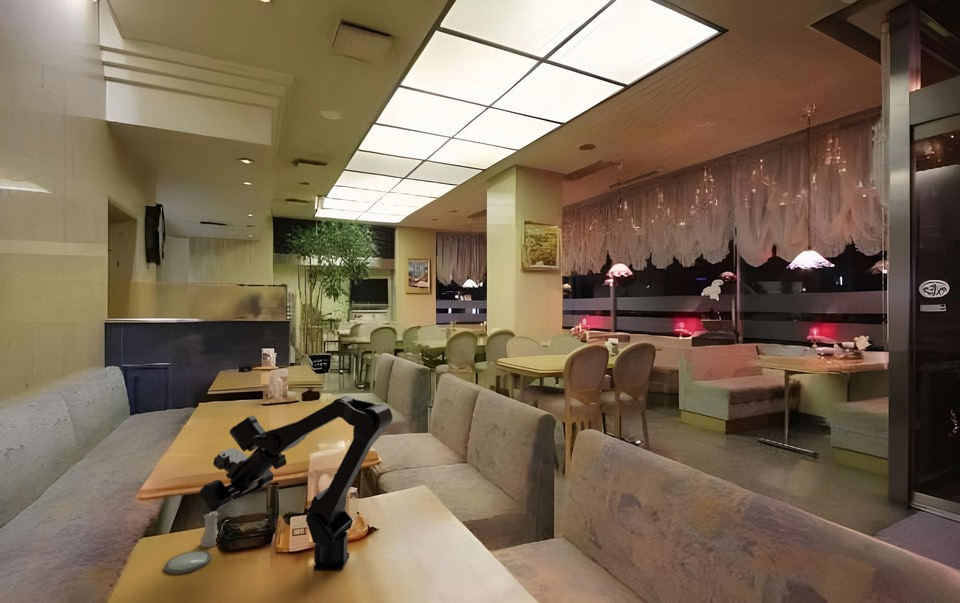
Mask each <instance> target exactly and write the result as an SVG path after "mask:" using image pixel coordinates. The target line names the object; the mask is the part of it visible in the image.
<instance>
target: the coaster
mask: <svg viewBox="0 0 960 603" xmlns="http://www.w3.org/2000/svg"><path fill="white" fill-rule="evenodd" d="M211 558H212V555H211V553H210V552H209V551H207V550H193V551H189V552H185V553H181V554H178V555H176V556H173V557H172V558H171V559H169V560H168V561H167V562H166V563H165V564H164V572H165V573H166V574H168V575H172V576H173V575H174V576H175V575H185V574H189V573H192V572H195V571H198V570H200V569H202V568H203V567H205V566H207V565H209V563H210V561H211Z"/></svg>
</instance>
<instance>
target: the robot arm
mask: <svg viewBox="0 0 960 603" xmlns="http://www.w3.org/2000/svg"><path fill="white" fill-rule="evenodd" d="M393 417H394V416H393V413H392V411H391V409H390V407H389V406H388V405H386V404H384V403H374V402H372V401H365V400H361V399H357V398H355V397H351V396H349V395H346V396H342V397H339V398H336V399H334V400H333V401H331V403H329V404H327V405H325V406H323V407H322V408H320V409H318V410H316V411H314V412H313V413H311V414H309V415H306V416H305V417H303V418H302V419H299V420H298V421H297V420H296V421H295V422H294V421H293V422H291V423H287V424H285V425H282V426H280V427H276V428H273V429H269V430H265V429H264V428H263V427H262V425H261V424H260V423H259V421H258V419H257V417H256V416H255V415H253V414H252V415H250V416H247V417H246V418H245V419H244V420H242V421H240V422H238V423H236V425H234V426H232V428H231V429H230V430H229V435H230V436H231V437H232V439H233V440H234V441H235V442H236V444H237V446H239V448H240V449H241V450H242V451H243V452H246V451H248V452H252V451H253V452H252V453H251V454H250V455H249V456H247V455H246V454H244V453H243V452H242V451H241V450H239V449H237V448H235V447H230V448H228V449H226V450H222V451H221V452H220V453H218V454H217V455H216V456H215V457H214V458H213V463H212V464H213V466H214V467H215V468H217V469H218V470H219V471H221V470H224V471H225V472H227V473H226V474H225V476H226V477H227V479H228V480H229V479H230V480H229V481H230V482H229V483H230V484H228V485H225V484H224V483H223V482H222V480H221V479H215V480H213V481H211V482H209V483H208V482H207V483H206V484H204V485H203V486H202V487H201V488H200V489H199V492H198V493H199V495H200V496H201V497H202V499H203V500H204V505H203V507H202V510H201V513H202V514H203V516H204V515H206V514H209V513H211V512H214V511H217V512H218V511H219V510H221V509H224V508H225V507H227V505H229V504H230V503H231V501H232V500H234V501H235V500H237V499H240V498H242V497H244V496H247V495H249V494H251V493H253V492H256V491H258V490H260V489H262V488H264V487H266V486H267V485H269V484H270V483H271V482H272V481H273V480H274V473H273V471H271V468H272V467H273V468H274V469H275V470H277V469H280V468H282V467H284V466H286V465H287V459H286V454H282V453H283V452H285V451H288V450H289V449H290V450H291V449H293V448H295V447H296V446H297V445H299V444H300V443H301V442H302V441H304V440H305V439H306V437H307V436H308V435H310V433H311V434H312V432H314V431H317V430H318V429H320V428H322V427H324V426H325V425H328V424H329V423H331V422H333V421H336V420H337V419H338V418H341V419H342V420H343V421H345V423H347V424H348V425H350V426H352V427H353V429H352V432H353V434H352V435H353V437H352V441H351V443H350V445H349V447H348V449H347V451H346V453H345V455H344V457H343V459H342V461H341V462H340V465H339V467H337V468H338V469H337V470H336V471H335V472H336V473H335V474H334V477H333V478H332V480H331V482H330V484H329V486H328V487H327V488H325V489H324V490H322V491H321V492H319V493H317V494H316V495H314V496H313V497H312V499H311V503H310V506H309V507H308V509H306V510H305V513H307V514H306V517H305V522H306V523H307V526H308V530H309V533H310V536H311V537H310V538H311V540H312V543H314V547H313V550H314V555H313V560H314V563H315V565H314V566H313V570H315V571H318V570H319V571H322V570H323V571H325V570H326V571H327V570H328V571H329V570H330V571H331V570H335V571H336V570H343V569H344V567H345V565H346V563H347V562H348V559H349V557H350V552H348V538H349V536H348V533H349V532H348V531H349V530H350V529H351V528H352V525H353V523H354V519H352V518H351V516H350V514H349V513H348V512H347V511H346V507H347V494H348V493H349V491H350V489H351V488H352V485H353V483H354V481H355V479H356V477H357V475H358V473H359V471H360V470H361V467H362V465H363V463H364V461H365V460H366V458H367V456H368V455H369V452H370V450H371V448H372V446H373V444H374V443H375V442H376V441H378V439H379V438H380V437H381V436H382V435H383V434H384V432H386V430H387V428H389V426H390V425H391V423H392V421H393Z"/></svg>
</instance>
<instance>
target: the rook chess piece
mask: <svg viewBox="0 0 960 603" xmlns="http://www.w3.org/2000/svg"><path fill="white" fill-rule="evenodd" d="M218 516H219V513H218V511H214V512H211V513H209V514H206V515H204V514H203V518H204V519H205V520H204V524H205V526H204V533H203V534H202V536H201V537H200V547H202V548H204V549H206V548H209V549H210V548H213V547H215V546H217V545H218V544H217V543H216V538H217V534H218V532H219V530H218V526H217V525H218V524H217V523H218V519H217V518H218ZM216 544H217V545H216Z"/></svg>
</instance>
